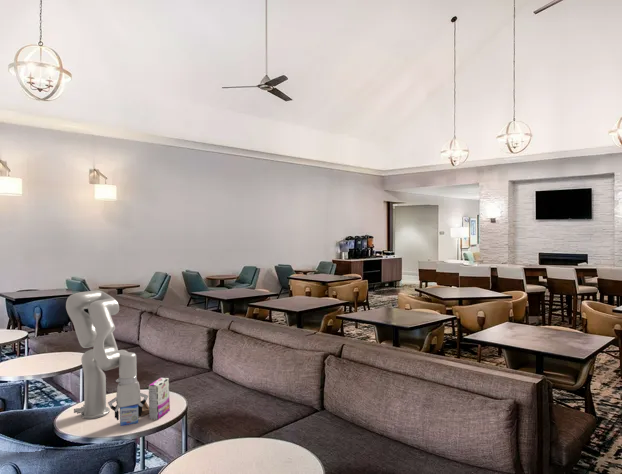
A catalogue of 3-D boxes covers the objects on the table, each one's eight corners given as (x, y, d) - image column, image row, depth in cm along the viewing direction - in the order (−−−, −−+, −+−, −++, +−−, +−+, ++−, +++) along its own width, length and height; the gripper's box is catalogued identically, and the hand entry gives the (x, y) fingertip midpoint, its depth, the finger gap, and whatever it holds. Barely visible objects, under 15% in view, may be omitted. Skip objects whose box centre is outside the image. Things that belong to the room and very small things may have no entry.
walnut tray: (129, 418, 215) (129, 413, 215) (124, 408, 227) (124, 403, 227) (150, 414, 220) (150, 409, 219) (144, 404, 232) (144, 400, 231)
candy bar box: (160, 410, 225) (160, 377, 224) (170, 410, 224) (169, 377, 223) (148, 419, 214) (147, 384, 214) (158, 420, 213) (157, 385, 213)
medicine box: (120, 426, 206) (119, 407, 206) (119, 422, 210) (119, 404, 210) (138, 423, 209) (138, 404, 209) (137, 419, 214) (137, 401, 213)
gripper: (108, 385, 202) (109, 424, 202) (149, 379, 211) (149, 415, 211) (106, 381, 208) (107, 418, 208) (146, 374, 217) (146, 410, 217)
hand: (128, 416), depth 210 cm, fingers open, 9 cm apart
